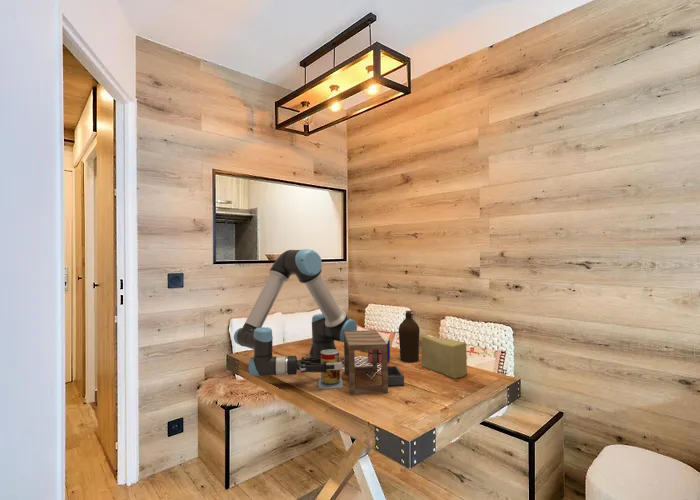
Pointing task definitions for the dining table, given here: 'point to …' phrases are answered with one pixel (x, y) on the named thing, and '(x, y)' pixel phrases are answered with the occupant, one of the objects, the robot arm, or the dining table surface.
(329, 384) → the mat
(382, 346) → the tunnel
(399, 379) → the tray
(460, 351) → the cheese
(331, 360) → the canned food
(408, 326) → the olive oil
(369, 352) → the puzzle cube
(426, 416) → the dining table surface
